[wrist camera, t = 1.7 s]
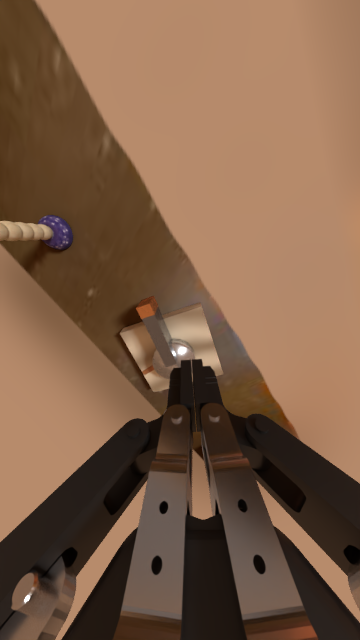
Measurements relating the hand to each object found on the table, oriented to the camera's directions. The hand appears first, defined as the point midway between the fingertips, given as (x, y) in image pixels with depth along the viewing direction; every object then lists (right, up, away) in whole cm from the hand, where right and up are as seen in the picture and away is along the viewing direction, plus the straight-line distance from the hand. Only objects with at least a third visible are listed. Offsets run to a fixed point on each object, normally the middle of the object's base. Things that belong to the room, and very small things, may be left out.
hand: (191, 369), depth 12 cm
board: (-2, -2, +19) cm, 19 cm away
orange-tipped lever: (-3, +1, +15) cm, 16 cm away
